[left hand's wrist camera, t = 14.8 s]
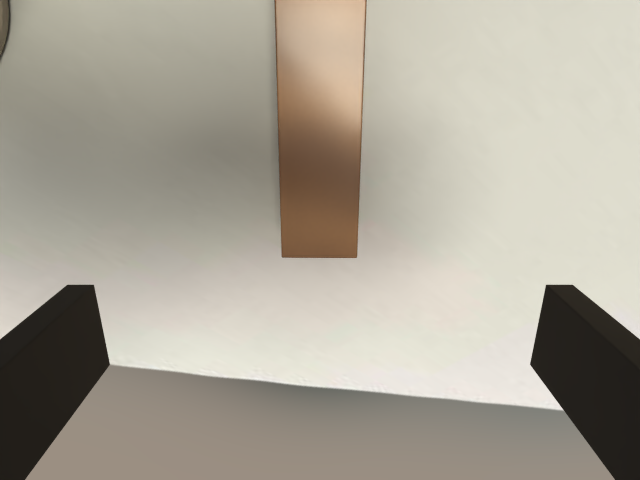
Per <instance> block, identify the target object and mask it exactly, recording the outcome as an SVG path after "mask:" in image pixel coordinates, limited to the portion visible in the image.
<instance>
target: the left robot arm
mask: <svg viewBox="0 0 640 480" xmlns="http://www.w3.org/2000/svg"><path fill="white" fill-rule="evenodd" d="M8 22H9V9H8V0H0V55H1V53H2V51H3V48H4V44H5V41H6V37H7V32H8ZM109 365H110V363H109V358H108V353H107V348H106V343H105V338H104V333H103V328H102V323H101V318H100V313H99V308H98V303H97V298H96V293H95V288H94V285H67V286H65V287H64V288H63V289H62V290H61V291H59V292H58V293H57V294H56V295H54V296H53V297H52V298H51V299H49V300H48V301H47V302H46V303H45V304H43V305H42V306H41V307H40V308H38V309H37V310H36V311H35V312H33V313H32V314H31V315H30V316H29V317H27V318H26V319H25V320H24V321H22V322H21V323H20V324H19V325H17V326H16V327H15V328H14V329H13V330H11V331H10V332H9V333H8V334H6V335H5V336H4V337H3V338H1V339H0V480H25V479H26V477H27V476H28V475H29V473H30V472H31V471H32V469H33V468H34V467H35V465H36V464H37V462H38V461H39V460H40V458H41V457H42V456H43V454H44V453H45V452H46V450H47V449H48V448H49V446H50V445H51V444H52V442H53V441H54V440H55V438H56V437H57V435H58V434H59V433H60V431H61V430H62V429H63V427H64V426H65V425H66V423H67V422H68V420H69V419H70V418H71V416H72V415H73V414H74V412H75V411H76V410H77V408H78V407H79V406H80V404H81V403H82V402H83V400H84V399H85V397H86V396H87V395H88V393H89V392H90V391H91V389H92V388H93V387H94V385H95V384H96V383H97V381H98V380H99V379H100V377H101V376H102V374H103V373H104V372H105V370H106V369H107V368H108V366H109ZM530 365H531V366H532V368H533V369H534V370H535V372H536V373H537V374H538V376H539V377H540V379H541V380H542V381H543V383H544V384H545V385H546V387H547V388H548V389H549V391H550V392H551V393H552V395H553V396H554V397H555V399H556V400H557V402H558V403H559V404H560V406H561V407H562V408H563V410H564V411H565V412H566V414H567V415H568V416H569V418H570V419H571V421H572V422H573V423H574V424H575V426H576V427H577V429H578V430H579V431H580V433H581V434H582V435H583V437H584V438H585V439H586V441H587V442H588V444H589V445H590V446H591V448H592V449H593V450H594V452H595V453H596V454H597V456H598V457H599V458H600V460H601V461H602V463H603V464H604V465H605V467H606V468H607V469H608V471H609V472H610V473H611V475H612V476H613V477H614V479H615V480H640V339H639V338H637V337H636V336H635V335H634V334H632V333H631V332H630V331H629V330H627V329H626V328H625V327H624V326H623V325H621V324H620V323H619V322H618V321H616V320H615V319H614V318H613V317H611V316H610V315H609V314H608V313H607V312H605V311H604V310H603V309H602V308H600V307H599V306H598V305H597V304H595V303H594V302H593V301H592V300H591V299H589V298H588V297H587V296H586V295H584V294H583V293H582V292H581V291H579V290H578V289H577V288H576V287H575V286H573V285H546V288H545V293H544V298H543V303H542V308H541V313H540V318H539V323H538V328H537V333H536V338H535V343H534V348H533V353H532V358H531V363H530Z"/></svg>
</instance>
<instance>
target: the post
mask: <svg viewBox="0 0 640 480" xmlns="http://www.w3.org/2000/svg"><path fill="white" fill-rule="evenodd" d="M366 1H367V0H275V30H276V66H277V102H278V138H279V174H280V211H281V247H282V257H285V258H357V243H358V216H359V189H360V162H361V136H362V109H363V82H364V55H365V28H366Z"/></svg>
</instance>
